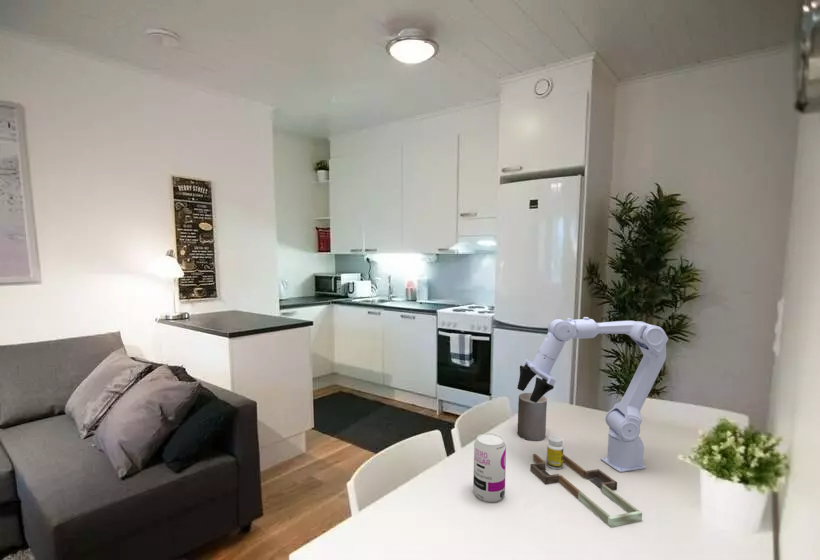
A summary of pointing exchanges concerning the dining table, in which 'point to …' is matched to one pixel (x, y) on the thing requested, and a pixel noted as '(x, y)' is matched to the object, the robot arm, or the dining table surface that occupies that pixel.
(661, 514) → the dining table surface
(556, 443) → the supplement bottle
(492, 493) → the supplement can
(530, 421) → the pillar candle
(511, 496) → the dining table surface
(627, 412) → the robot arm
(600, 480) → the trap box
